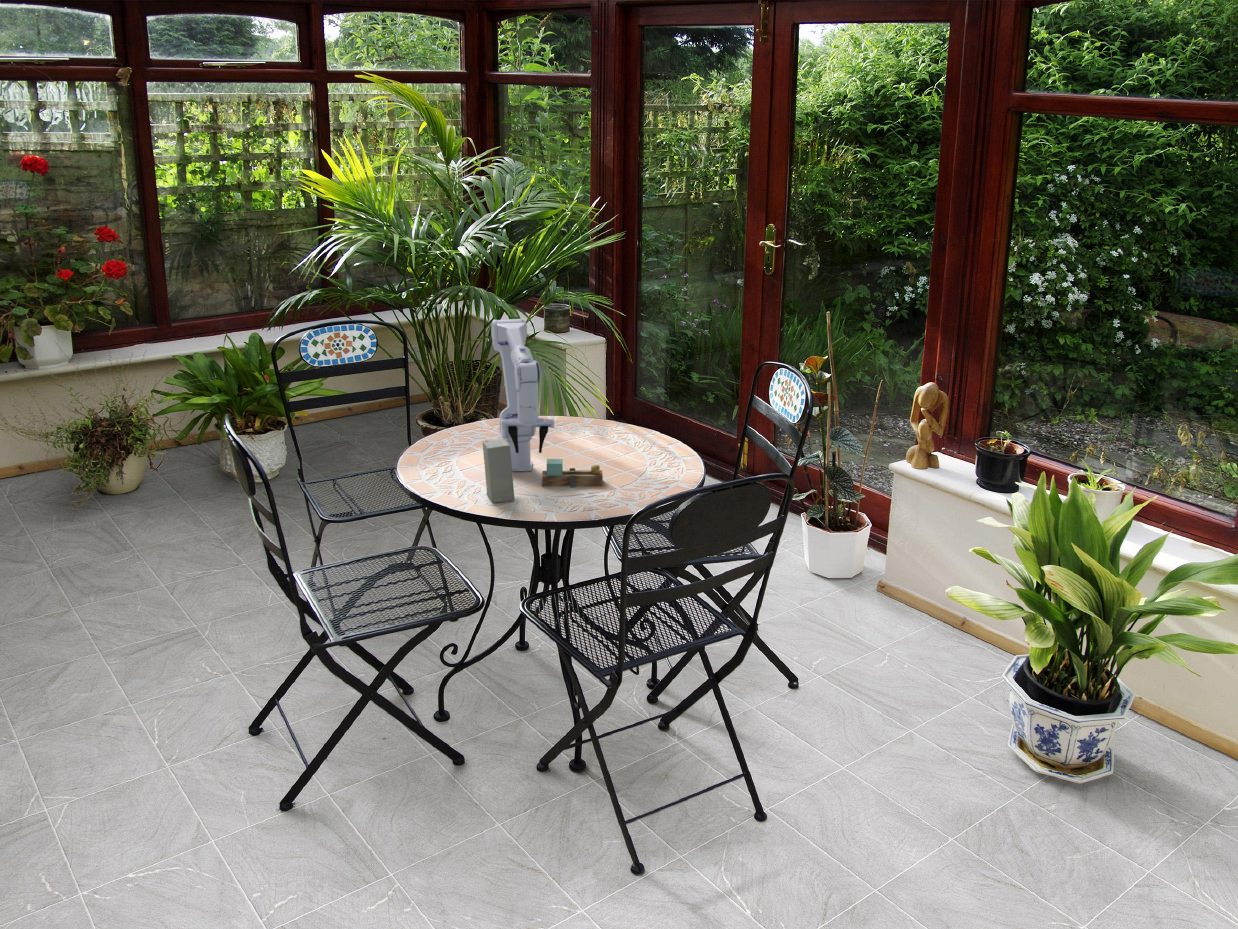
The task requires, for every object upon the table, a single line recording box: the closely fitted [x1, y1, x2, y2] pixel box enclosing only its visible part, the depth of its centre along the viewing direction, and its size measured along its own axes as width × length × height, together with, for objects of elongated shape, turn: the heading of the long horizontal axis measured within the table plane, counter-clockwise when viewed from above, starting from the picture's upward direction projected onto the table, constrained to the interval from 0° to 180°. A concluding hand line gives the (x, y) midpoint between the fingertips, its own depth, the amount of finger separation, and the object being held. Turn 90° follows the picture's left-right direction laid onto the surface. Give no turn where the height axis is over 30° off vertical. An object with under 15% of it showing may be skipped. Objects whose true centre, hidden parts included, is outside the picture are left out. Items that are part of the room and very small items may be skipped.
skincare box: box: [482, 438, 515, 504], centre depth 299 cm, size 8×7×16 cm
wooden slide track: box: [541, 464, 604, 488], centre depth 313 cm, size 17×7×5 cm, turn 92°
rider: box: [546, 458, 564, 476], centre depth 312 cm, size 4×4×5 cm
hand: (528, 451), depth 310 cm, fingers open, 6 cm apart
